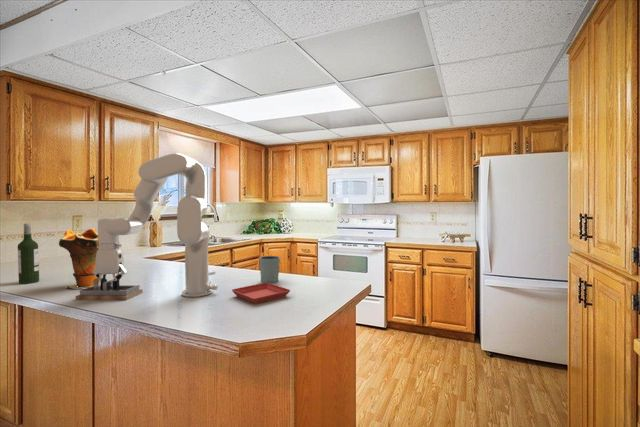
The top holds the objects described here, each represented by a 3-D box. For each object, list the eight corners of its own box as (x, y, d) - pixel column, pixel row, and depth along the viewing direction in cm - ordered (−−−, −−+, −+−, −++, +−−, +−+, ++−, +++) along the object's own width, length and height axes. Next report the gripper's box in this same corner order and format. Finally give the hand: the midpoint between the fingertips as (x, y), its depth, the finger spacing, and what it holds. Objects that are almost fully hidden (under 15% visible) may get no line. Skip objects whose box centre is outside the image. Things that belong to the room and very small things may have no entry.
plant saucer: (291, 297, 140) (291, 289, 140) (254, 306, 128) (253, 298, 127) (266, 289, 153) (266, 282, 153) (230, 297, 141) (230, 289, 141)
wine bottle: (41, 281, 172) (39, 223, 171) (22, 284, 165) (19, 224, 164) (35, 279, 176) (33, 222, 175) (16, 283, 169) (14, 223, 168)
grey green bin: (258, 279, 172) (258, 256, 171) (278, 278, 175) (277, 255, 174) (261, 284, 162) (260, 259, 162) (281, 282, 165) (281, 258, 165)
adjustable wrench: (190, 284, 165) (190, 280, 165) (178, 283, 167) (178, 280, 167) (217, 273, 190) (217, 270, 189) (207, 273, 191) (207, 269, 191)
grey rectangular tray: (139, 289, 147) (139, 278, 147) (126, 295, 138) (126, 283, 138) (95, 289, 148) (95, 278, 148) (79, 295, 139) (79, 283, 139)
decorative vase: (76, 292, 148) (72, 229, 148) (52, 289, 160) (49, 230, 160) (123, 282, 166) (120, 226, 166) (99, 280, 178) (96, 227, 178)
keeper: (142, 292, 148) (142, 275, 148) (126, 299, 137) (126, 281, 137) (95, 292, 149) (94, 275, 149) (75, 299, 138) (75, 281, 138)
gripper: (133, 245, 146) (134, 287, 146) (96, 245, 147) (97, 287, 147) (122, 248, 138) (123, 291, 139) (83, 248, 139) (84, 291, 140)
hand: (110, 288), depth 143 cm, fingers open, 4 cm apart
